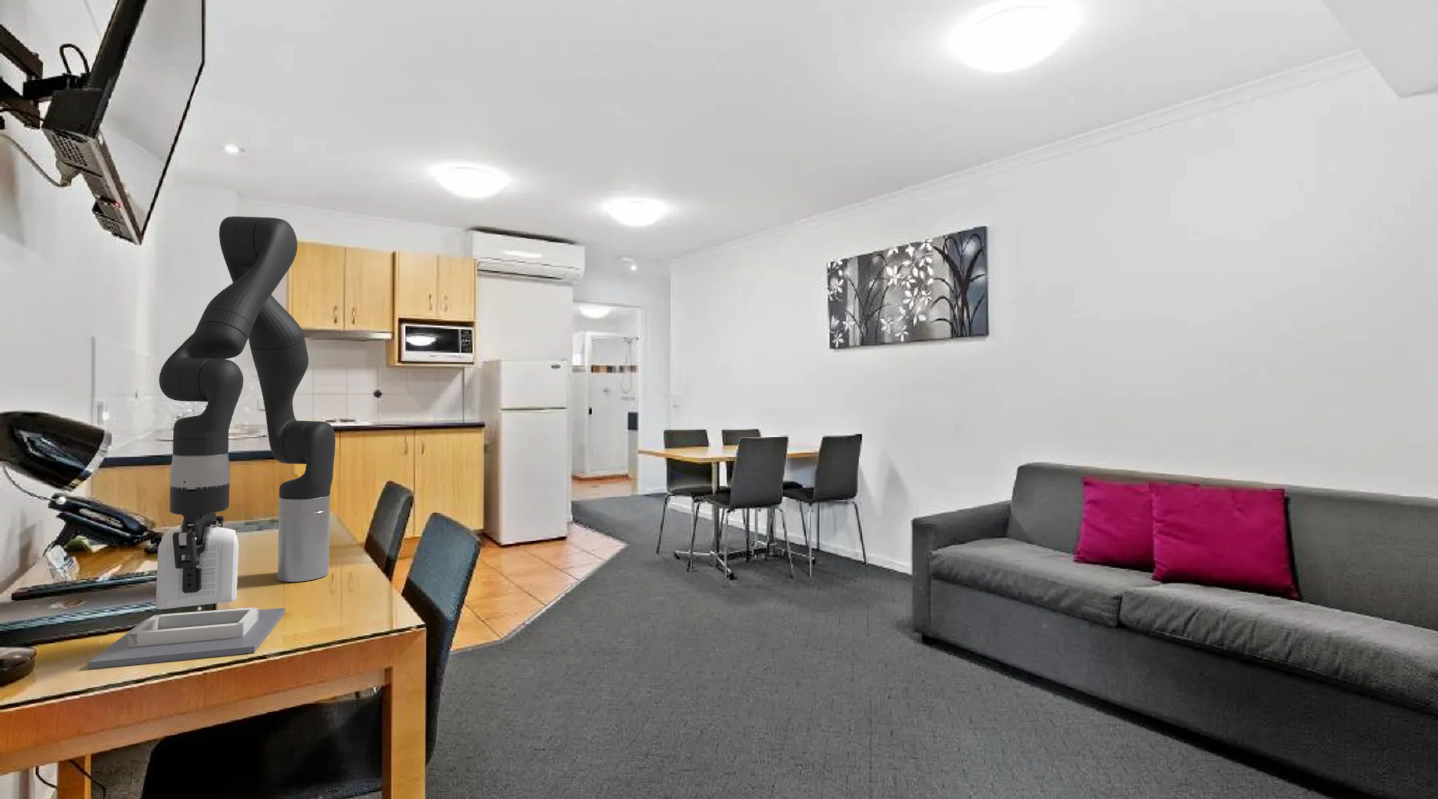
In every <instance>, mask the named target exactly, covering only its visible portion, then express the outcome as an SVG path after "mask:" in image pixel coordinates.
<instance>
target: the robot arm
mask: <svg viewBox="0 0 1438 799" xmlns="http://www.w3.org/2000/svg"><path fill="white" fill-rule="evenodd" d="M218 239H219V246H220V249H221V253H222V256H223V259H224V262H225V266H226V267H227V270H228V273H229V276H230V279H231V282H232V283H230V284H229V285H227V287H225V288H224V289H222V290H221V291H220V292H219V293H217V294H216V295H215V296H214V297H213V298H212V299H211V300H210V301H209V303H208V304H207V305H206V307H205V309H204V310H203V313H202V315H201V318H200V320H199V322H198V324H197V326H196V327H195V330H194V332H193V333H192V334H191V335H190V336H189V337H188V338H186V339H185V341H184V342H183V343H182V344H181V345H180V346H179V347H178V348H177V349H176V350H175V351H174V352H173V353H171V355H170V356H169V357H168V358H167V359H166V361H164V364H163V365H162V366H161V369H160V372H159V376H158V384H159V387H160V390H161V392H162V393H163V394H164V395H165V396H166V398H169V399H170V400H173V401H178V402H193V403H194V402H197V403H198V402H199V403H207V404H206V407H205V409H204V410H203V412H202V413H201V414H198V415H193V416H186V417H181V418H180V419H177V420H176V421H175V422H174V425H173V429H172V431H173V432H172V433H173V434H172V459H171V465H170V470H169V472H170V473H169V476H170V477H169V478H170V479H169V512H170V513H171V514H173V515H181V516H183V519H182V524H180V526H179V530H180V532H177V533H174V534H173V536H172V538H173V547H174V557H175V567H176V569H181V570H182V569H183V584H182V591H183V592H184V593H195V592H198V591H199V590H201V573H202V568H201V566H202V560H203V554H205V553H206V552H207V551H208V539H209V535H211V534H212V529H213V527H215V528H216V527H221V528H224V521H225V518H224V516H223V515H217V514H216V513H221V512H223V511H226V510H228V509H229V507H230V484H231V483H230V480H231V476H230V475H231V468H230V458H229V457H230V456H229V443H230V442H229V441H230V440H229V434H230V433H229V431H230V426H231V423H232V420H233V417H234V413H235V409H236V407H237V404H238V402H239V399H240V397H241V394H242V390H243V387H244V374H243V372H242V370H241V367H239V365H238V364H237V363H236V362H234V361H233V360H230V359H233V358H236V357H239V355H240V354H242V353H243V351H244V349H245V347H246V344H247V342H248V344H249V348H250V353H251V356H252V360H253V363H254V368H255V370H256V373H257V378H258V380H259V381H258V382H259V386H260V390H261V395H262V399H263V404H264V405H263V406H264V412H265V413H264V414H265V422H266V427H267V436H268V444H269V447H270V451H271V454H272V455H273V457H274V458H275V460H276V461H277V462H279V463H282V464H289V465H290V464H291V465H305V469H304V473H303V474H302V475H300V476H299V477H297V478H294V479H290V480H287V481H284V482H283V483H281V484H280V485H279V490H278V491H279V492H278V531H277V532H278V533H277V534H278V535H277V536H278V542H277V545H278V546H277V580H279V581H282V582H287V583H288V582H292V583H293V582H294V583H297V582H306V581H311V580H313V581H314V580H316V579H320V578H323V577H326V576H327V575H328V574H329V573H330V572H329V566H330V530H331V529H330V528H331V527H330V526H331V525H330V524H331V522H330V521H331V487H332V483H333V479H334V466H335V455H336V434H335V430H334V427H333V426H332V424H331V423H329V422H327V421H320V420H318V421H317V420H298V419H297V418H296V416H295V412H294V406H293V404H294V403H293V401H294V400H293V399H294V397H295V393H296V391H297V390H298V388H299V385H300V384H301V382H302V380H303V378H304V377H305V374H306V372H307V370H308V367H309V363H310V362H309V353H308V348H307V344H306V338H305V335H304V332H303V330H302V327H301V326H300V324H299V323H298V321H296V319H295V318H294V317H293V316H292V314H290V313H289V312H288V311H287V310H286V309H285V308H284V307H283V305H282V304H281V303H280V302H279V301H277V299H276V298H275V297H274V296H273V293H274V291H275V290H276V288H277V287H278V286H279V284H280V283H281V281H282V280H283V278H284V277H285V276H286V274H287V273H288V271H289V269H290V268H291V266H293V263H294V262H295V258H296V255H297V252H298V238H297V235H296V232H295V230H294V228H293V226H292V225H291V224H290V223H289V222H288V221H287V220H285V219H282V218H279V217H268V216H267V217H266V216H265V217H264V216H263V217H261V216H241V215H240V216H237V215H236V216H233V215H232V216H228V217H225V218H223V219H222V221H221V222H220V225H219V230H218ZM201 544H202V546H201V547H200V548H196V546H199V545H201ZM188 555H190V560H188Z"/></svg>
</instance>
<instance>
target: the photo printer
mask: <svg viewBox="0 0 1438 799" xmlns="http://www.w3.org/2000/svg"><path fill="white" fill-rule="evenodd" d="M177 532H180V529H179V530H175V531H172V532H169V533H166V534H163V536H161V541H160V542H159V545H158V547H157V570H156V593H155V594H156V595H155V596H156V598H155V608H156V609H157V610H167V609H176V608H177V609H178V608H185V607H187V608H188V607H194V606H204V605H214V604H220V603H221V604H222V603H231V602H233V601H235V600H237V597H238V595H237V594H238V590H237V589H238V571H239V570H238V567H239V544H240V543H239V540H238V536H237V535H236V530H235V529H231V528H227V527H222V528H221V527H216V528H215V527H213V529H212V534H211V535H209V539H208V551H207V552H206V553H205V554H203V560H202V566H201V568H202V573H201V590H199V591H198V592H195V593H184V592H183V591H182V584H183V569H182V570H181V569H176V567H175V557H174V547H173V538H172V536H173V534H174V533H177ZM201 546H202V544H201V545H199V546H196V548H200V547H201ZM188 560H190V555H188Z"/></svg>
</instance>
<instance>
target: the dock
mask: <svg viewBox="0 0 1438 799" xmlns="http://www.w3.org/2000/svg"><path fill="white" fill-rule="evenodd" d="M285 614H286V608H285V607H281V608H280V607H278V608H265V609H260V607H259V606H256V607H255V606H254V607H241V608H231V609H230V608H228V609H216V610H201V611H190V612H189V611H188V612H175V613H162V614H161V613H160V614H154V615H152V616H151V617H149V618H146V619H144V620H142V621H141V622H140V623H139V624H137V625H135V626H134V628H131V630H129V631H128V632H126V633H125V634H124V635H123V636H121V637H120V638H118V639H117V640H116V641H115V642H112V644H110V645H109V646H108V647H107V648H106V649H104V650H103V651H101V652H100V653H98V654H97V655H96V656H94V657H93V658H91V660H90V661H88V662H87V669H88V670H94V669H103V668H104V669H105V668H115V667H123V666H124V667H125V666H134V665H143V664H154V663H155V664H157V663H164V662H165V663H166V662H174V661H184V660H185V661H186V660H195V659H196V660H197V659H206V658H216V657H225V656H236V655H238V656H239V655H245V654H244V653H248V654H251V653H250V652H256V651H257V650H258V649H259V647H260V646H261V645H262V644H263V642H264V641H265V640H266V638H267V637H268V636H269V634H271V632H272V630H273V629H275V627H276V626H277V624H278V623H279V622H280V620H281V619H282V618H283V616H285ZM263 640H264V641H263ZM260 644H261V645H260ZM257 648H258V649H257ZM256 649H257V650H256Z"/></svg>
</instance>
